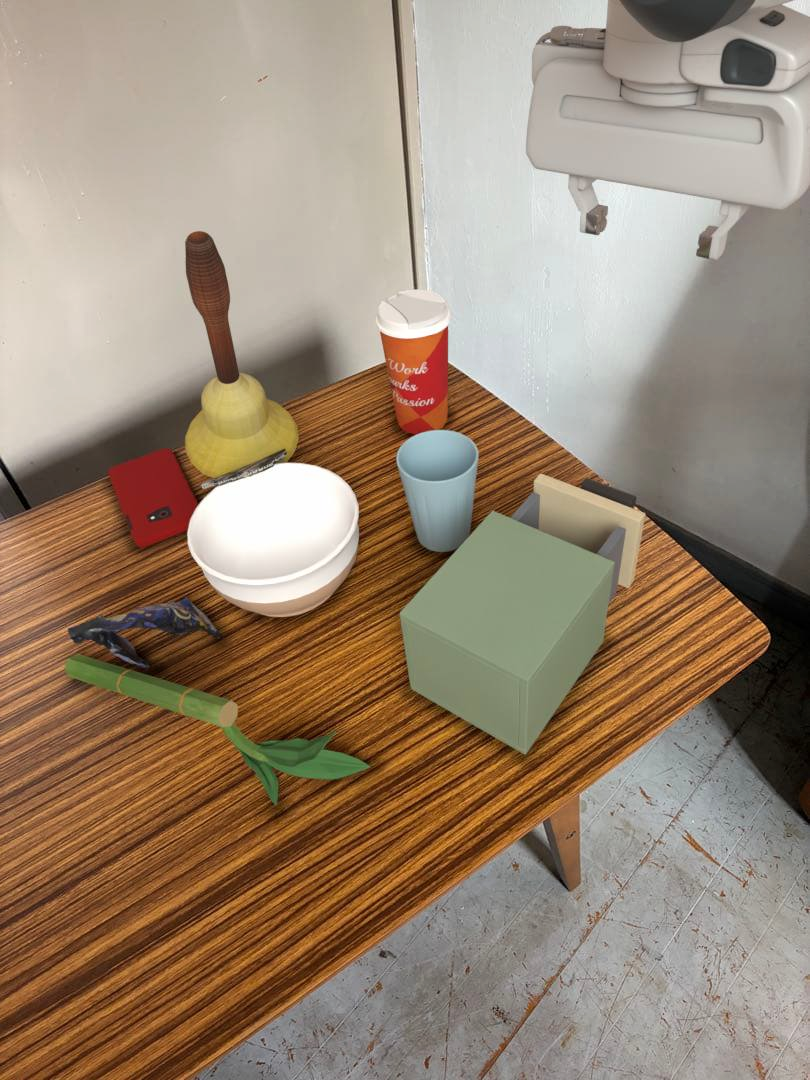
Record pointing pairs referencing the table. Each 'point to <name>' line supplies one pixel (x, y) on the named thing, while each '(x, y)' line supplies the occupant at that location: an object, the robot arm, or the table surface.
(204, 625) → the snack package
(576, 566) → the cabinet
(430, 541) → the cup
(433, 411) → the coffee cup
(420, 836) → the table surface
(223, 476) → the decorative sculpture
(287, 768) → the decorative plant
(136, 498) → the cell phone
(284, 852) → the table surface
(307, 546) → the bowl
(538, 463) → the table surface
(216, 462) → the handbell
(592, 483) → the beige drawer
